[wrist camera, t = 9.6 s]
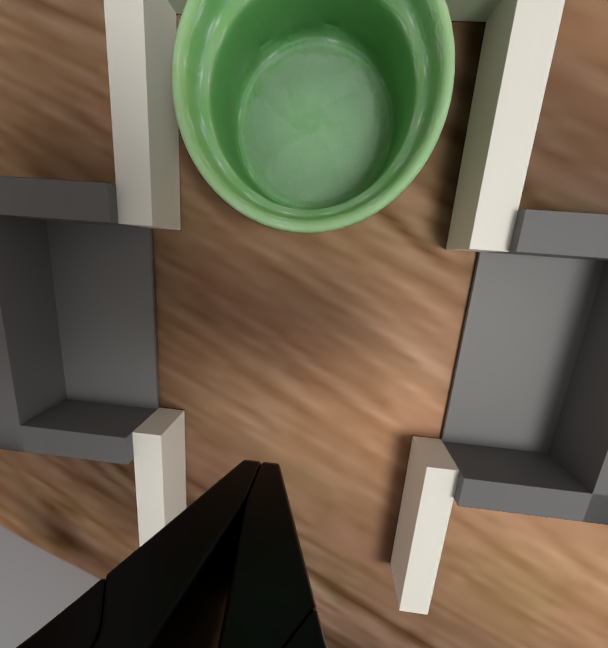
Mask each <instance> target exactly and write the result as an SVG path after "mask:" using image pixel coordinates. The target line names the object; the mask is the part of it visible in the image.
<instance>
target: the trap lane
mask: <svg viewBox="0 0 608 648" xmlns="http://www.w3.org/2000/svg"><path fill="white" fill-rule="evenodd" d="M445 1H446V4H447V6H448V10H449V14H450V18H451V21H474V22H486V25H485V31H484V37H483V42H482V48H481V54H480V59H479V65H478V71H477V76H476V82H475V88H474V93H473V99H472V105H471V110H470V116H469V122H468V127H467V133H466V139H465V144H464V150H463V156H462V161H461V167H460V173H459V178H458V184H457V189H456V195H455V201H454V206H453V212H452V218H451V223H450V229H449V235H448V240H447V246H446V250H458V251H472V252H478V257H477V262H476V267H475V272H474V277H473V282H472V286H471V291H470V296H469V301H468V306H467V311H466V316H465V321H464V326H463V331H462V336H461V341H460V346H459V351H458V356H457V361H456V366H455V371H454V376H453V381H452V386H451V391H450V396H449V401H448V406H447V411H446V416H445V421H444V425H443V430H442V435H441V439H436V438H427V437H418V436H413V438H412V444H411V450H410V455H409V461H408V467H407V472H406V478H405V484H404V489H403V495H402V501H401V506H400V512H399V518H398V523H397V529H396V535H395V540H394V546H393V552H392V557H391V563H390V566H391V571H392V576H393V581H394V586H395V591H396V597H397V602H398V607H399V610H400V611H407V612H414V613H420V614H428V610H429V606H430V601H431V597H432V592H433V588H434V583H435V579H436V574H437V570H438V565H439V561H440V556H441V552H442V548H443V543H444V539H445V534H446V530H447V525H448V521H449V516H450V512H451V507H452V503H453V498H454V499H455V501H456V503H457V505H458V506H462V507H470V508H478V509H486V510H494V511H502V512H510V513H518V514H526V515H534V516H542V517H550V518H558V519H566V520H574V521H582V522H590V523H597V524H605V525H608V215H606V214H590V213H575V212H559V211H543V210H527V209H526V210H521V211H518V208H519V204H520V199H521V195H522V190H523V186H524V181H525V177H526V173H527V168H528V164H529V159H530V155H531V150H532V146H533V141H534V137H535V132H536V128H537V123H538V119H539V115H540V110H541V106H542V101H543V97H544V92H545V88H546V83H547V79H548V74H549V70H550V65H551V61H552V56H553V52H554V48H555V43H556V39H557V34H558V30H559V25H560V21H561V16H562V12H563V7H564V3H565V0H445ZM186 2H187V0H104V11H105V26H106V41H107V57H108V72H109V87H110V102H111V117H112V133H113V148H114V163H115V178H116V185H113V184H109V183H102V182H86V181H70V180H54V179H38V178H23V177H7V176H0V449H6V450H14V451H22V452H30V453H38V454H46V455H54V456H62V457H70V458H78V459H86V460H94V461H102V462H110V463H118V464H126V465H128V464H129V463H130V462H131V461H132V460H133V459H134V466H135V482H136V497H137V512H138V527H139V542H140V547H141V546H142V545H143V544H144V543H145V542H147V541H148V540H149V539H150V538H151V537H153V536H154V535H155V534H156V533H157V532H159V531H160V530H161V529H162V528H163V527H164V526H166V525H167V524H168V523H169V522H170V521H172V520H173V519H174V518H175V517H176V516H178V515H179V514H180V513H181V512H182V511H184V510H185V509H186V464H185V416H184V410H176V409H167V408H159V386H158V362H157V338H156V314H155V290H154V266H153V242H152V228H156V229H169V230H181V221H180V172H179V126H178V123H177V119H176V115H175V108H174V102H173V94H172V57H173V48H174V43H175V38H176V32H177V26H176V14H182V13H183V9H184V8H185V5H186Z"/></svg>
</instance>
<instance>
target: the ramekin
mask: <svg viewBox="0 0 608 648" xmlns="http://www.w3.org/2000/svg"><path fill="white" fill-rule="evenodd" d="M454 74H455V46H454V37H453V30H452V22H451V18H450V14H449V10H448V6H447V4H446V1H445V0H187V2H186V5H185V8H184V9H183V13H182V15H181V18H180V21H179V25H178V29H177V32H176V38H175V43H174V48H173V57H172V94H173V102H174V108H175V115H176V119H177V123H178V126H179V129H180V133H181V136H182V139H183V141H184V144H185V146H186V149H187V151H188V153H189V155H190V157H191V159H192V160H193V162H194V164H195V166H196V167H197V169H198V171H199V172H200V174H201V175H202V176H203V178H204V179H205V180H206V182H207V183H208V184H209V185H210V187H211V188H212V189H213V190H214V191H215V192H216V193H217V194H218V195H219V196H220V197H221V198H222V199H223V200H224V201H225V202H226V203H228V204H229V205H230V206H231V207H232V208H234V209H235V210H237V211H238V212H240V213H241V214H243V215H245V216H246V217H248V218H250V219H252V220H254V221H256V222H258V223H260V224H263V225H265V226H268V227H271V228H274V229H278V230H282V231H288V232H296V233H320V232H327V231H333V230H337V229H341V228H344V227H347V226H350V225H353V224H356V223H358V222H360V221H363V220H365V219H366V218H368V217H370V216H372V215H374V214H375V213H377V212H379V211H380V210H381V209H383V208H384V207H386V206H387V205H388V204H389V203H391V202H392V201H393V200H394V199H395V198H396V197H398V196H399V195H400V194H401V193H402V192H403V191H404V190H405V189H406V187H407V186H408V185H409V184H410V183H411V182H412V181H413V179H414V178H415V177H416V175H417V174H418V173H419V171H420V170H421V169H422V167H423V166H424V164H425V163H426V161H427V160H428V158H429V156H430V155H431V153H432V151H433V149H434V147H435V145H436V143H437V141H438V139H439V136H440V134H441V131H442V129H443V126H444V123H445V120H446V117H447V113H448V109H449V106H450V102H451V97H452V91H453V85H454Z"/></svg>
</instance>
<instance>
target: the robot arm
mask: <svg viewBox="0 0 608 648" xmlns="http://www.w3.org/2000/svg"><path fill="white" fill-rule="evenodd" d="M16 648H327V645H326V642H325V638H324V634H323V630H322V627H321V623H320V619H319V615H318V612H317V611H316V604H315V601H314V597H313V593H312V589H311V585H310V581H309V577H308V573H307V570H306V566H305V562H304V558H303V554H302V550H301V546H300V542H299V539H298V535H297V531H296V527H295V523H294V519H293V515H292V511H291V508H290V504H289V500H288V496H287V492H286V488H285V484H284V480H283V477H282V473H281V469H280V466H279V464H277V463H269V462H263V463H262V464H261V463H260V462H259V461H252V460H244V461H242V462H241V463H240V464H238V465H237V466H236V467H235V468H234V469H232V470H231V471H230V472H229V473H228V474H227V475H225V476H224V477H223V478H222V479H221V480H219V481H218V482H217V483H216V484H215V485H213V486H212V487H211V488H210V489H209V490H207V491H206V492H205V493H204V494H203V495H201V496H200V497H199V498H198V499H197V500H196V501H194V502H193V503H192V504H191V505H190V506H188V507H187V508H186V509H185V510H184V511H182V512H181V513H180V514H179V515H178V516H176V517H175V518H174V519H173V520H172V521H170V522H169V523H168V524H167V525H166V526H164V527H163V528H162V529H161V530H160V531H159V532H157V533H156V534H155V535H154V536H153V537H151V538H150V539H149V540H148V541H147V542H145V543H144V544H143V545H142V546H141V547H139V548H138V549H137V550H136V551H135V552H133V553H132V554H131V555H130V556H129V557H127V558H126V559H125V560H124V561H123V562H122V563H120V564H119V565H118V566H117V567H116V568H114V569H113V570H112V571H111V572H110V573H108V574H107V576H106V580H105V579H101V580H100V581H99V582H97V583H96V584H95V585H94V586H93V587H91V588H90V589H89V590H88V591H87V592H85V593H84V594H83V595H82V596H81V597H80V598H78V599H77V600H76V601H75V602H73V603H72V604H71V605H70V606H68V607H67V608H66V609H65V610H64V611H62V612H61V613H60V614H58V615H57V616H56V617H55V618H54V619H52V620H51V621H50V622H49V623H47V624H46V625H45V626H44V627H42V628H41V629H40V630H39V631H37V632H36V633H35V634H34V635H32V636H31V637H30V638H28V639H27V640H26V641H24V642H23V643H22V644H20V645H19V646H18V647H16Z"/></svg>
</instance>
